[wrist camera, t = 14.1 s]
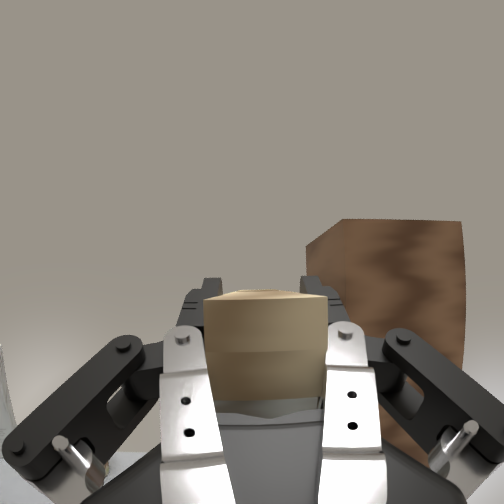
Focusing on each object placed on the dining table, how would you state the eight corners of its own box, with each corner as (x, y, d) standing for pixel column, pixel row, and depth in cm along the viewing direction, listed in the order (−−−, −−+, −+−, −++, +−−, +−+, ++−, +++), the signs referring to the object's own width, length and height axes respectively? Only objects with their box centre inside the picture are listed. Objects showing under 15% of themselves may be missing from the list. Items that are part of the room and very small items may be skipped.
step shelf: (191, 563, 16) (154, 222, 19) (208, 490, 29) (194, 248, 33) (415, 537, 16) (461, 221, 19) (374, 476, 29) (388, 245, 33)
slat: (207, 400, 8) (203, 299, 8) (240, 318, 32) (240, 290, 32) (326, 396, 8) (327, 296, 8) (273, 317, 32) (273, 289, 32)
